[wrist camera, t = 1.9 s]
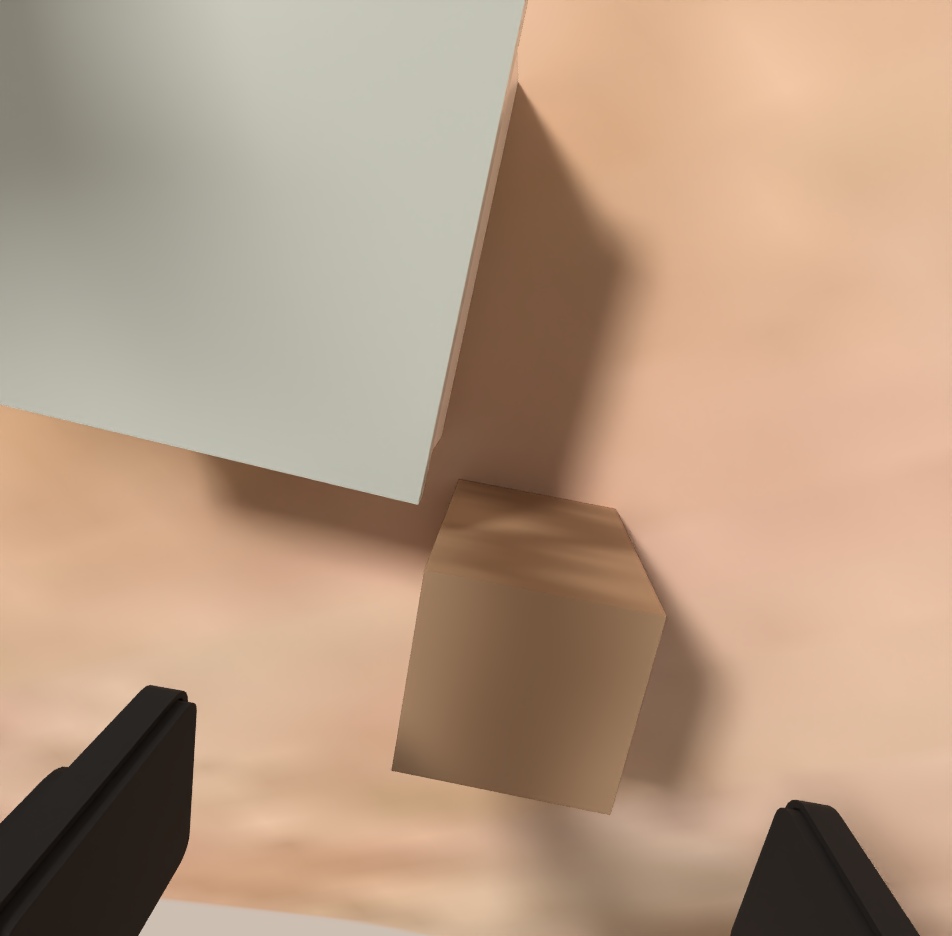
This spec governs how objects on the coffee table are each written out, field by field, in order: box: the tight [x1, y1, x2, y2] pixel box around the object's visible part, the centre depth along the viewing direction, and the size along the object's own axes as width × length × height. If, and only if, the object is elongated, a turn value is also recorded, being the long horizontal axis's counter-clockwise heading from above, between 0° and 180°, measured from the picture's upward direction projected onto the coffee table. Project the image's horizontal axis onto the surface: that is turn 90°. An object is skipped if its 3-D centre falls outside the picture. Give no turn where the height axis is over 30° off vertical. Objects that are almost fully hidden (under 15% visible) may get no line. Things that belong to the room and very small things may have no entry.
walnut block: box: [392, 479, 667, 815], centre depth 16 cm, size 5×5×7 cm
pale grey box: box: [0, 0, 528, 505], centre depth 15 cm, size 11×11×6 cm
